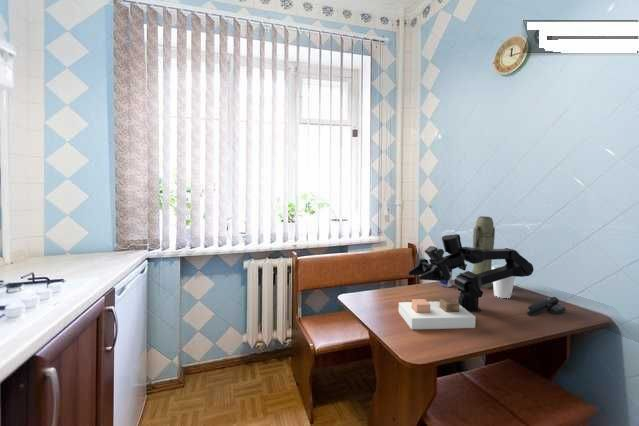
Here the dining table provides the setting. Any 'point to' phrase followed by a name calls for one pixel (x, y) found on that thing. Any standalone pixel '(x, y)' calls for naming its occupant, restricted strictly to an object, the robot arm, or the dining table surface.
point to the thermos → (483, 243)
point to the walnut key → (449, 305)
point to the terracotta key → (420, 306)
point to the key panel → (436, 317)
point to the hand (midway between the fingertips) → (413, 275)
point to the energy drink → (447, 282)
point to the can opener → (546, 306)
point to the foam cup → (503, 286)
